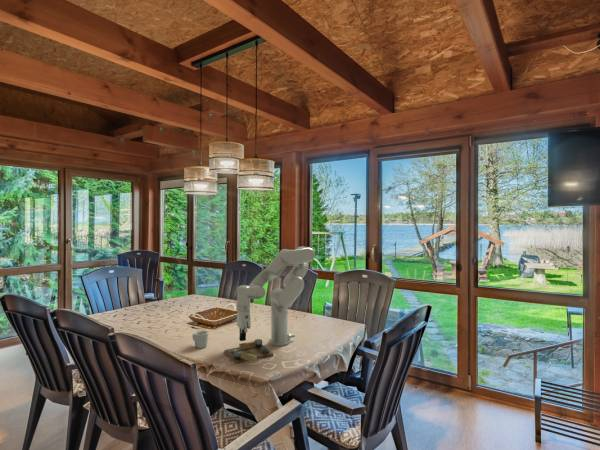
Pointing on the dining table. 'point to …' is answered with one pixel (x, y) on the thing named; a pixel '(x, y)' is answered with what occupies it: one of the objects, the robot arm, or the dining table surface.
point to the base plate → (259, 351)
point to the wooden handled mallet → (244, 356)
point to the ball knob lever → (251, 344)
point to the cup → (200, 339)
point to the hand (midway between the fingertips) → (242, 340)
